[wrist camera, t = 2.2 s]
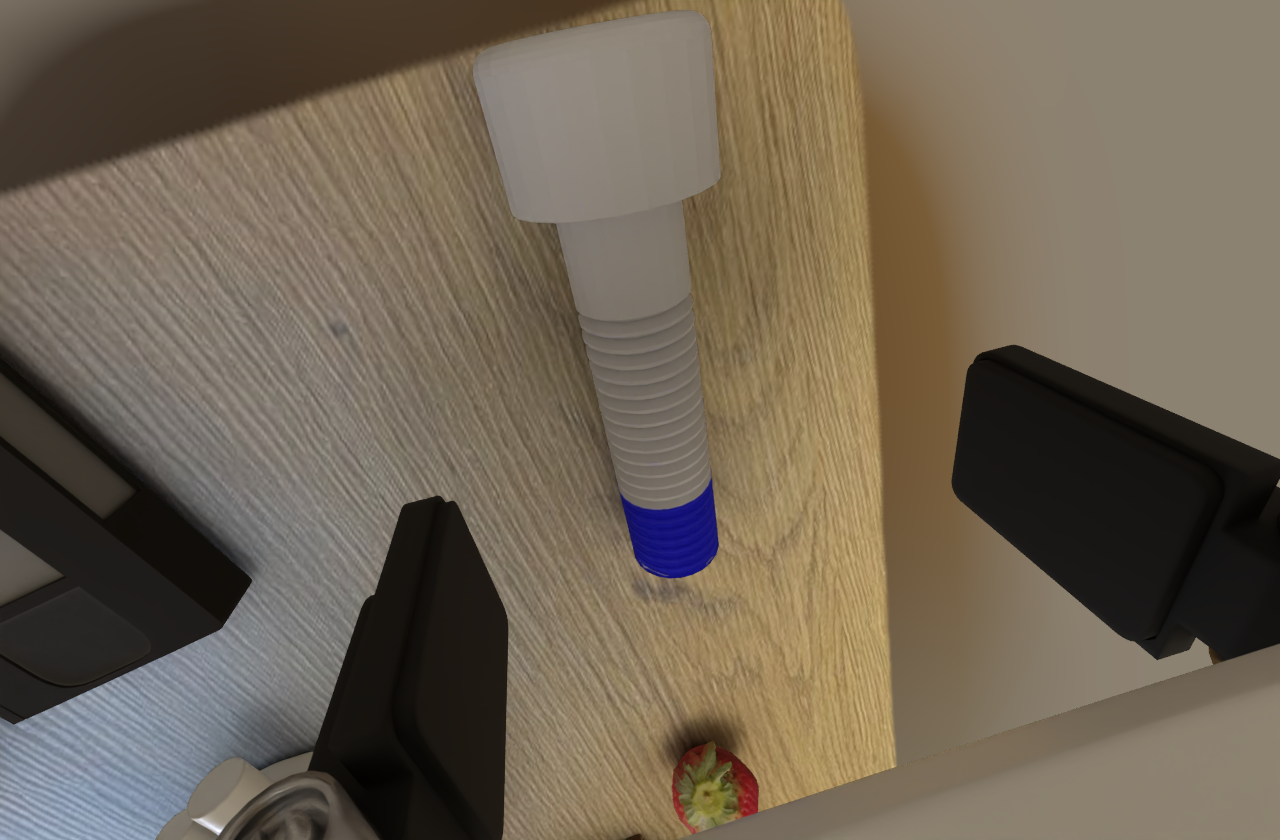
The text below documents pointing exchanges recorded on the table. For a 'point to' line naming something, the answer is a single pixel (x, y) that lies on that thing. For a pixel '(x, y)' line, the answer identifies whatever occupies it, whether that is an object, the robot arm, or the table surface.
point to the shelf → (636, 838)
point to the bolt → (624, 240)
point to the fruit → (712, 788)
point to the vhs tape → (90, 562)
